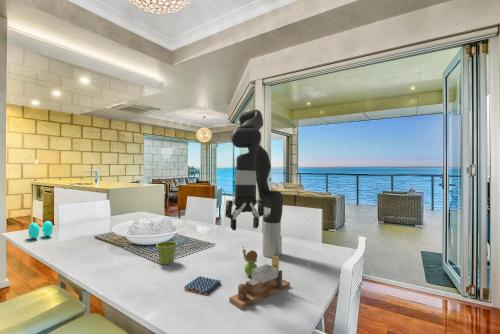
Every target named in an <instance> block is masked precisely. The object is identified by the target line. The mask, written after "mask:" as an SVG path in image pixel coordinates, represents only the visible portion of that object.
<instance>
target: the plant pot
mask: <svg viewBox="0 0 500 334" xmlns="http://www.w3.org/2000/svg"><path fill="white" fill-rule="evenodd" d="M177 245H178V242H177V241H173V240H172V241H170V240H169V241H161V242H159V243H158V242H157V243H156V245H155V246H156V249H157V252H158V258H159V259H158V260H159V265H163V266H164V265H171V264H173V263H174V261H175V260H174V259H175V254H176V248H177Z"/></svg>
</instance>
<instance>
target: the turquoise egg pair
mask: <svg viewBox="0 0 500 334" xmlns="http://www.w3.org/2000/svg"><path fill="white" fill-rule="evenodd" d="M52 223H53V222H52V221H50V220H45V222H43V224H42V226H41V231H42V235H43V236H44V235H45V236H44V237H46V236H49V237H51V236H52V235H53V231H54V226H53V224H52ZM39 234H40V226H39V225H38V223H36V222H31V223H30V224H29V226H28V237H29V239H31V238H36V239H37V238H38V237H39ZM50 235H51V236H50Z"/></svg>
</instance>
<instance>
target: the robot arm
mask: <svg viewBox="0 0 500 334" xmlns="http://www.w3.org/2000/svg"><path fill="white" fill-rule="evenodd" d="M238 121H239V125H240V126H238V127H236V128H235V129H234V130H233V131H232V134H231V142H232V145H233V146H234V147H235V148H239V149H240V148H241V149H245V148H247V150H248V152H246V153H241V154H238V155H237V156H236V165H235V166H236V167H235V168H236V170H235V171H236V172H235V178H234V179H235V181H234V182H235V184H234V197H235V198H234V200H230V199H227V200H226V204H225V218H228V219H230V229H231V230H232V231H237V218H238V216H239V215H240V214H241V213H251V214H252V216H253V220H252V221H253V222H252V228H253V229H258V227H259V226H260V217H262V256H264V257H266V258H272V255H277V256H279V257H281V256H282V254H283V253H282V249H283V248H282V245H283V244H282V243H283V236H282V235H281V231H282V230H281V229H282V228H281V227H282V218H283V206H284V198H283V194H282V192H280V191H278V190H270V187H269V183H268V182H269V181H268V179H269V176H270V173H271V167H272V165H271V160H270V157H269V153H268V152H267V150H266V149H265V148H264V147H262V146H261V141H262V134H261V133H262V132H261V131H260V130H261V129H262V128H263V127H264V118H263V115H262V112H261V110H259V109H252V110H249V111H245V112H241V113H239V115H238ZM257 192H258V196H259V198H258V199H257V198H256V197H257ZM233 206H235V207H234V209H233ZM255 206H257V209H256V207H255ZM265 208H267V209H270V211H269V213H268V214H265Z"/></svg>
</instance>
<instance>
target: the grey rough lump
mask: <svg viewBox="0 0 500 334" xmlns="http://www.w3.org/2000/svg"><path fill="white" fill-rule="evenodd" d="M250 277H251V280H252V279H254V280H257V281H259V282H261V283H265V282H267V281H269V280H272V279H274V278H277V277H278V268H276V267H273V266H272V264H268V263H266V264H264V265H260V266H257V268H255V269H252V275H251V276H250Z"/></svg>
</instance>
